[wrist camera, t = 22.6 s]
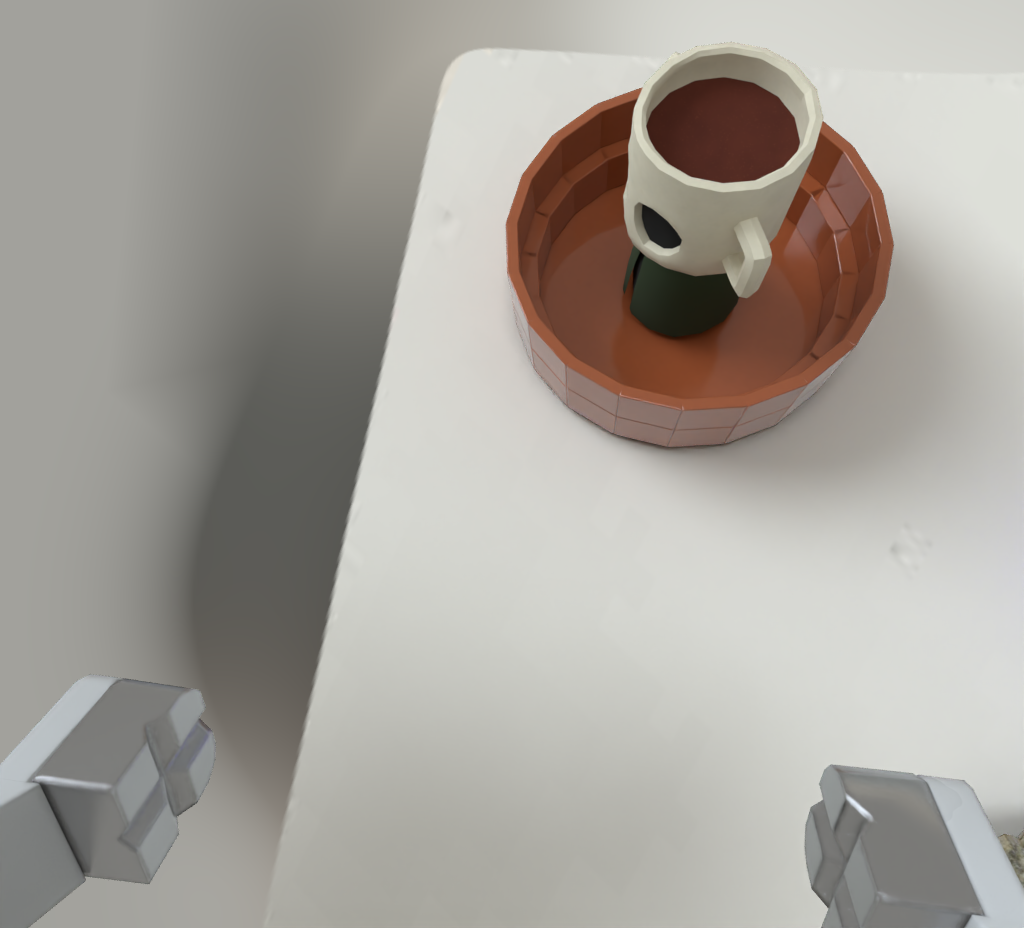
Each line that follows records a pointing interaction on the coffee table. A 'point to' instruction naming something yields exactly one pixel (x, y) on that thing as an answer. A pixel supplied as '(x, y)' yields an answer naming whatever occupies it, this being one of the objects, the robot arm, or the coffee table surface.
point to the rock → (1015, 853)
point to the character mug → (712, 179)
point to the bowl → (698, 357)
